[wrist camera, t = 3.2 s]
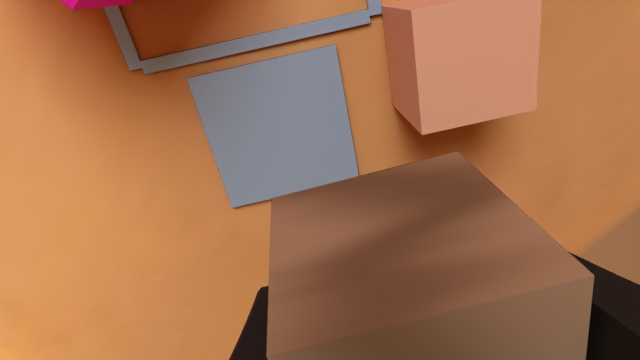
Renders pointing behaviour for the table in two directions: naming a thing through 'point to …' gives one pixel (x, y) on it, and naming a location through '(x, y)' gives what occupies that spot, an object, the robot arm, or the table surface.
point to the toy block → (94, 3)
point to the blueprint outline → (268, 108)
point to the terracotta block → (462, 60)
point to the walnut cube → (420, 272)
